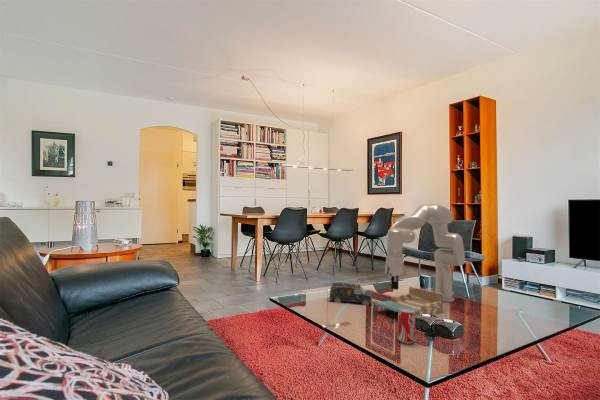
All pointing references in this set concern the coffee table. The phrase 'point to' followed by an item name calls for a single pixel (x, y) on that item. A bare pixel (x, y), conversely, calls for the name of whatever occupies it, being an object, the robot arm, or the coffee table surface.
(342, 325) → the coffee table surface
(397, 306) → the panel
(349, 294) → the toy van
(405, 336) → the soda can
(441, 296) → the trailer bed
